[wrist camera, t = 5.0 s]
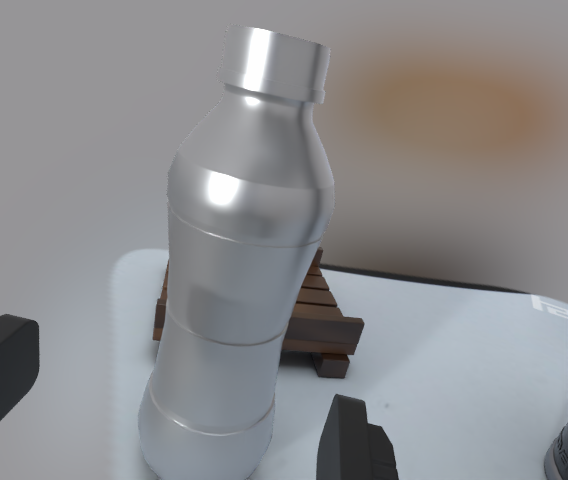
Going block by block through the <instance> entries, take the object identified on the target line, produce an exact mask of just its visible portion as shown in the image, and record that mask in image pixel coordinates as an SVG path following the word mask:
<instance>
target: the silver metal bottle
mask: <svg viewBox="0 0 568 480" xmlns="http://www.w3.org/2000/svg"><path fill="white" fill-rule="evenodd" d="M330 50H331V49H330V48H328V47H326V46H323V45H320V44H317V43H314V42H311V41H307V40H304V39H300V38H296V37H292V36H288V35H284V34H280V33H275V32H271V31H266V30H261V29H257V28H252V27H246V26H240V25H231V24H229V25H228V27H227V31H226V33H225V42H224V49H223V57H222V64H221V67H218V72H217V80H218V81H221V82H224V85H225V86H224V91H223V94H222V98H221V101H220V102H219V103H218V104H217V105H216V106H215V107H214V108H213V109H212V110H211V111H210V112H209V113H208V114H207V115H206V116H205V117H204V118H203V119H202V120H201V121H200V122H199V123H198V124H197V125H196V126H195V128H194V129H193V130H192V131H191V133H190V134H189V135H188V136H187V138H186V139H185V140H184V141H183V143H182V144H181V145H180V146H179V148H178V150H177V153H176V155H175V157H174V159H173V162H172V164H171V166H170V169H169V171H168V185H167V197H168V204H167V206H168V236H169V272H168V286H167V295H168V298H167V302H166V315H165V323H164V328H163V332H162V336H161V341H160V345H159V349H158V353H157V358H156V362H155V366H154V370H153V372H152V373H151V376H150V378H149V380H148V383H147V385H146V389H145V392H144V395H143V399H142V402H141V406H140V410H139V414H138V427H139V436H140V444H141V449H142V452H143V456H144V458H145V460H146V462H147V463H148V465H149V467H150V468H151V469H152V470H153V471H154V472H155V473H156V475H157V476H159V477H160V478H161V479H163V480H245V479H247V478H248V477H249V476H250V475H251V474H252V473H253V472H254V470H255V469H256V467H257V466H258V464H259V463H260V461H261V459H262V457H263V455H264V453H265V452H266V450H267V448H268V446H269V443H270V440H271V438H272V430H273V421H274V412H275V392H274V391H275V385H276V379H277V373H278V367H279V361H280V355H281V349H282V343H283V339H284V336H285V333H286V330H287V327H288V322H289V319H290V317H291V315H292V312H293V309H294V306H295V303H296V300H297V297H298V294H299V291H300V288H301V285H302V283H303V281H304V278H305V276H306V274H307V272H308V269H309V267H310V265H311V263H312V260H313V258H314V256H315V254H316V251H317V249H318V247H319V245H320V242H321V240H322V238H323V236H324V232H325V231H326V229H327V227H328V224H329V221H330V218H331V215H332V213H333V210H334V207H335V188H334V185H335V184H334V178H333V175H332V172H331V169H330V166H329V163H328V160H327V156H326V153H325V150H324V148H323V146H322V143H321V141H320V139H319V136H318V134H317V131H316V129H315V127H314V124H313V122H312V113H313V106H314V104H315V103H318V104H323V101H324V96H325V91H323V87H324V83H325V78H326V74H327V69H328V64H329V60H330V55H329V54H330Z"/></svg>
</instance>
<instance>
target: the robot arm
mask: <svg viewBox="0 0 568 480" xmlns="http://www.w3.org/2000/svg"><path fill="white" fill-rule="evenodd" d="M38 372H39V326H38V323H37V322H36V321H34V320H30V319H26V318H22V317H17V316H13V315H9V314H5V315H2V316H0V421H1V420H2V419H3V418H4V417H5V416H6V414H7V413H8V412H9V411H10V410H11V409H12V408H13V407H14V406H15V405H16V404H17V403H18V402H19V401H20V400H21V399H22V398H23V397H24V396H25V395H26V394H27V393H28V392H29V390H30V389H31V388H32V386H33V385H34V383H35V381H36V378H37V376H38ZM545 471H546V475H547V478H548V480H568V423H567V424H566V426H564V428H563V429H562V431H561V432H560V434H559V436H558V437H557V438H556V439H555V440H554V442H553V443H552V445H551V447H550V448H549V450H548V451H547V453H546V456H545ZM316 480H399V478H398V472H397V469H396V461H395V456H394V450H393V445H392V443H391V442H390V440H389V438H388V437H387V435H386V433H385V432H384V430H383V428H382V427H381V426H377V425H373V424H369V423H368V421H367V413H366V405H365V402H364V401H363V400H359V399H355V398H351V397H347V396H343V395H339V394H336V395H335V396H334V399H333V402H332V405H331V408H330V411H329V414H328V417H327V420H326V423H325V426H324V429H323V432H322V435H321V438H320V443H319V448H318V454H317V471H316Z"/></svg>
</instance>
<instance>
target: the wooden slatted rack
mask: <svg viewBox="0 0 568 480" xmlns="http://www.w3.org/2000/svg"><path fill="white" fill-rule="evenodd" d="M322 253H323V249H322V248H321V247H318V249H317V251H316V254H315V256H314V258H313V260H312V263H311V265H310V267H309V269H308V272H307V274H306V276H305V278H304V281H303V283H302V285H301V288H300V291H299V294H298V297H297V300H296V303H295V306H294V309H293V312H292V315H291V317H290V319H289V322H288V327H287V330H286V333H285V336H284V339H283V343H282V349H281V350H291V351H305V352H311V355H312V358H313V361H314V364H315V367H316V370H317V373H318V376H321V377H337V378H345V375H346V372H347V369H348V366H349V363H350V361H349V358H348V356H347V355H354V353H355V350H356V347H357V344H358V342H359V339H360V336H361V333H362V330H363V327H364V322H363V320H362V319H361V318H353V317H343V315H342V313H341V311H340V309H339V308H337V303H336V301H335V299H334V297H333V295H332V293H331V292H330V291H329V287H328V285H327V283H326V281H325V279H324V277H322V273H321V271H320V269H319V264H320V260H321V257H322ZM168 272H169V260H168V264H167V269H166V274H165V279H164V283H163V288H162V293H161V297H160V299H158V300H157V305H156V313H155V322H154V331H153V340H157V341H161V336H162V332H163V328H164V323H165V315H166V302H167V298H168V295H167V286H168Z"/></svg>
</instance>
